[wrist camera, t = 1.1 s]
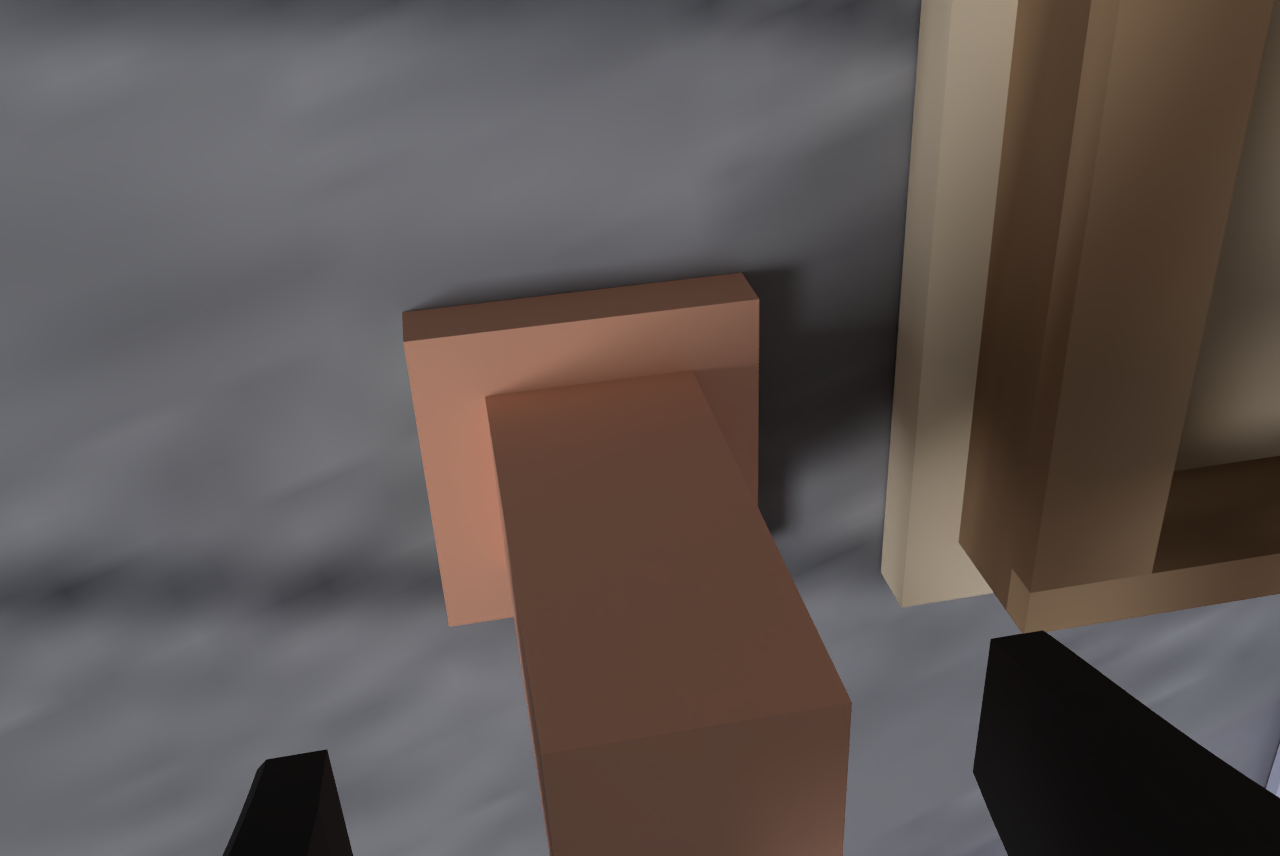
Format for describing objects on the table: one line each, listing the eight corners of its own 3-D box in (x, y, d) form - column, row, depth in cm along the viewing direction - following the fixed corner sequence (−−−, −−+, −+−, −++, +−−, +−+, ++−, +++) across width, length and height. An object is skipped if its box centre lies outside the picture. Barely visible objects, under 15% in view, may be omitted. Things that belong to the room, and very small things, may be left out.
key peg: (741, 271, 18) (959, 604, 11) (741, 544, 21) (920, 949, 14) (401, 311, 17) (417, 691, 11) (446, 588, 20) (481, 1036, 13)
